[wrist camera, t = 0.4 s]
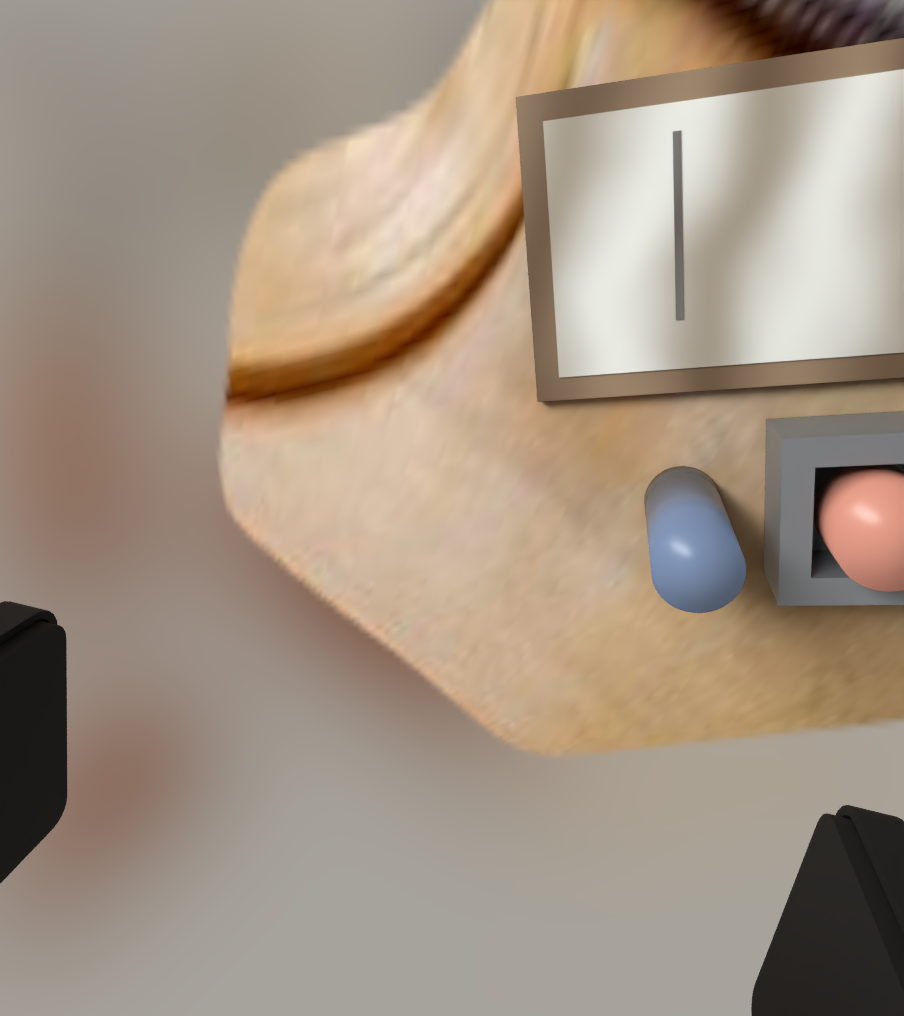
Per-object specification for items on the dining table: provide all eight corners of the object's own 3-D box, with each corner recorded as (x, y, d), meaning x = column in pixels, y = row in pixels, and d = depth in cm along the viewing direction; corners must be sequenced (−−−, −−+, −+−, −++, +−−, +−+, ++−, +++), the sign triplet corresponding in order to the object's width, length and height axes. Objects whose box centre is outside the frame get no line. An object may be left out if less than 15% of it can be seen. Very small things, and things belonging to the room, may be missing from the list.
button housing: (951, 408, 32) (989, 427, 28) (936, 568, 34) (970, 604, 31) (766, 418, 33) (782, 438, 30) (763, 572, 35) (778, 605, 32)
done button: (925, 459, 31) (960, 485, 27) (917, 554, 32) (950, 590, 29) (814, 464, 31) (836, 490, 28) (810, 557, 33) (831, 592, 29)
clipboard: (969, 31, 28) (984, 22, 27) (940, 372, 31) (952, 377, 30) (517, 99, 31) (514, 94, 30) (538, 399, 35) (536, 404, 34)
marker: (719, 464, 34) (747, 527, 27) (719, 533, 35) (746, 612, 28) (643, 468, 35) (649, 530, 27) (645, 535, 36) (652, 613, 28)
